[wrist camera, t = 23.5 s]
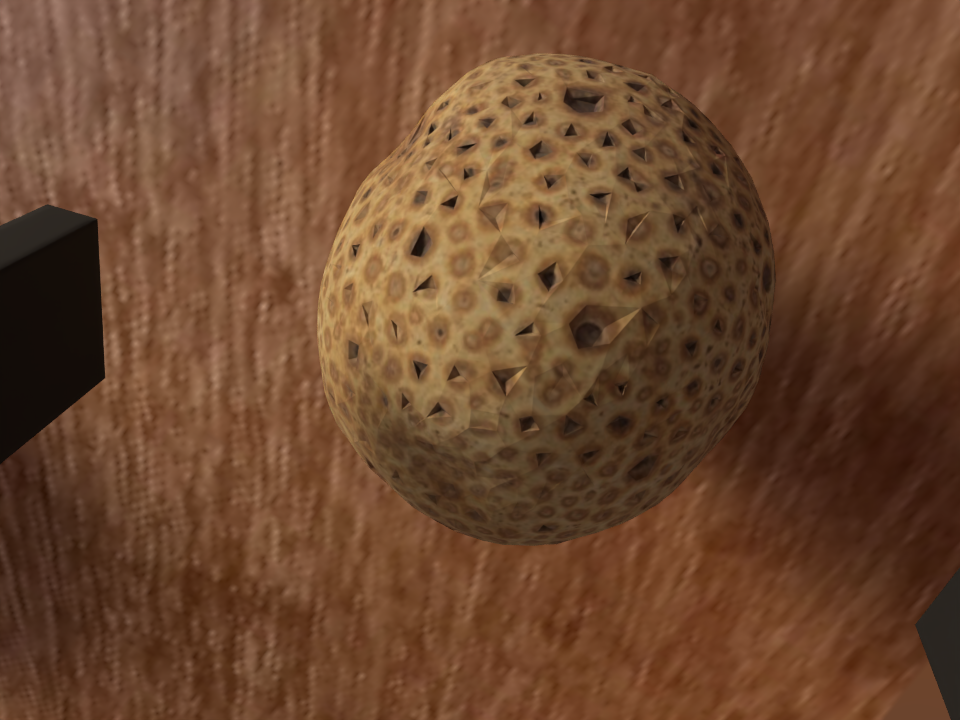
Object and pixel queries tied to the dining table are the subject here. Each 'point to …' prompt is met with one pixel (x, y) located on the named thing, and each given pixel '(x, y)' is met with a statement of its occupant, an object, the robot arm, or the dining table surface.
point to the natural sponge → (547, 300)
